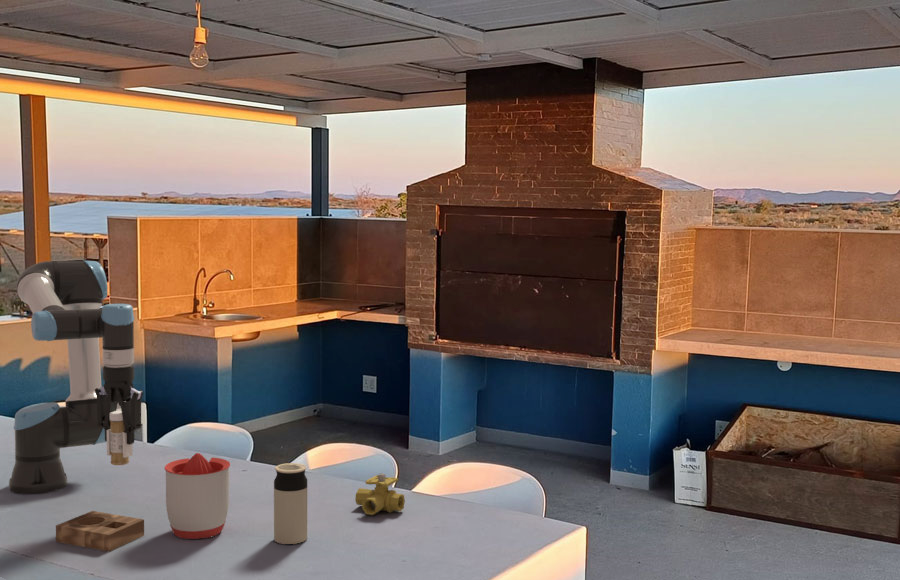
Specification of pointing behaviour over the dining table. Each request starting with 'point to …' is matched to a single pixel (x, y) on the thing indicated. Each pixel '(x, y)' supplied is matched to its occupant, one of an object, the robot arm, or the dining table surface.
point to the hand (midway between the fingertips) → (119, 455)
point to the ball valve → (380, 496)
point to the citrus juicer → (197, 496)
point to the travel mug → (290, 504)
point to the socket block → (100, 530)
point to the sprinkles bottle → (117, 438)
